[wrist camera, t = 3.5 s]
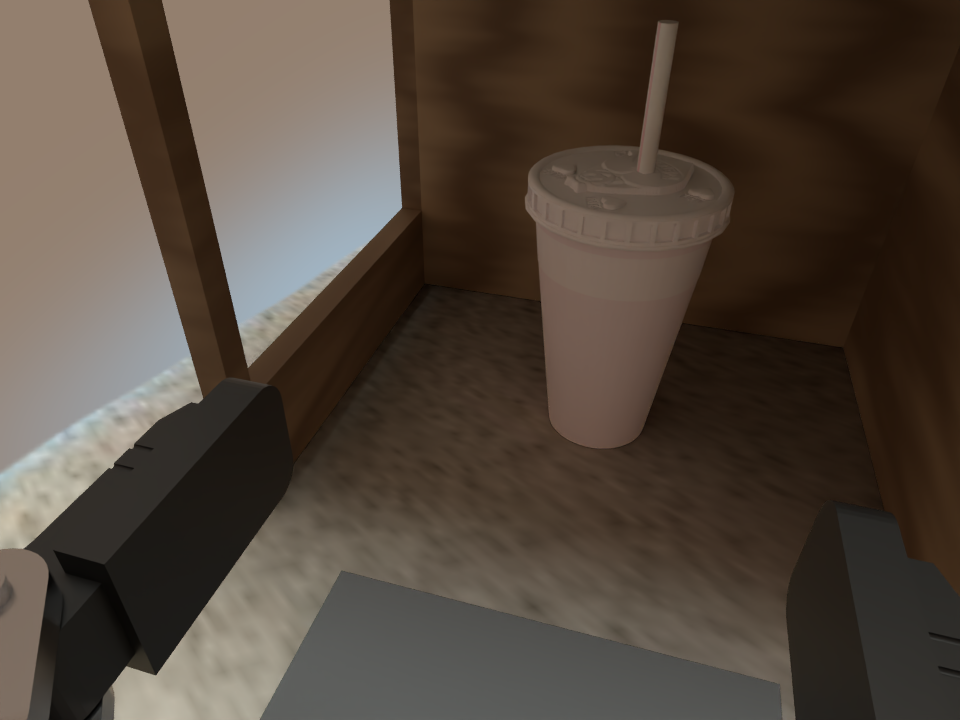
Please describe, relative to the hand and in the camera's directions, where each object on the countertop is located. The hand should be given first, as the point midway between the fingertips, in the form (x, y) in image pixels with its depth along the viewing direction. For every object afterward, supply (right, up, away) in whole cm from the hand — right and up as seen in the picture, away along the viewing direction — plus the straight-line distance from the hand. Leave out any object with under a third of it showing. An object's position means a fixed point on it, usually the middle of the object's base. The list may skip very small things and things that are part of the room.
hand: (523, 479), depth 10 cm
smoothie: (+4, -1, +17) cm, 17 cm away
